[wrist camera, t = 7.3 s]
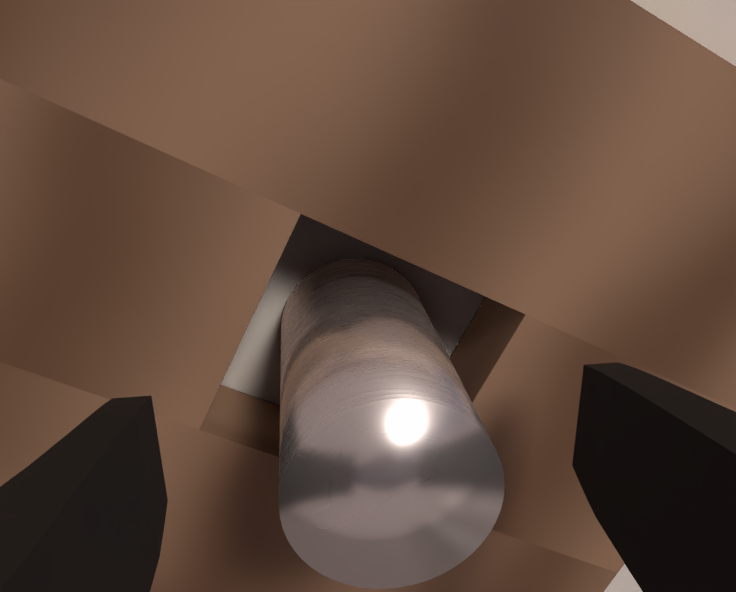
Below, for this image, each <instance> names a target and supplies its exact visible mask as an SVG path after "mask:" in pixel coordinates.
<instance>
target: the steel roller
mask: <svg viewBox="0 0 736 592" xmlns="http://www.w3.org/2000/svg"><path fill="white" fill-rule="evenodd" d="M504 488H505V483H504V472H503V468H502V464H501V461H500V458H499V456H498V453H497V451H496V449H495V447H494V445H493V443H492V441H491V439H490V437H489V435H488V433H487V431H486V429H485V427H484V425H483V423H482V421H481V419H480V417H479V415H478V413H477V411H476V410H475V408H474V406H473V404H472V402H471V400H470V398H469V396H468V394H467V392H466V390H465V388H464V386H463V384H462V382H461V380H460V378H459V376H458V374H457V372H456V370H455V368H454V366H453V364H452V362H451V360H450V358H449V356H448V354H447V352H446V350H445V348H444V346H443V344H442V342H441V340H440V338H439V336H438V334H437V332H436V331H435V329H434V327H433V325H432V323H431V321H430V319H429V317H428V315H427V313H426V311H425V309H424V307H423V305H422V303H421V301H420V299H419V297H418V295H417V293H416V292H415V290H414V288H413V287H412V285H411V284H410V283H409V282H408V281H407V280H406V279H405V278H404V277H403V276H402V275H401V274H400V273H398V272H397V271H395V270H394V269H392V268H390V267H388V266H386V265H384V264H382V263H379V262H376V261H371V260H367V259H345V260H339V261H335V262H332V263H328V264H326V265H324V266H322V267H319V268H318V269H316V270H314V271H313V272H311V273H310V274H309V275H307V276H306V277H305V278H303V279H302V281H301V282H300V283H299V284H298V285H297V286H296V287H295V288H294V290H293V291H292V293H291V294H290V296H289V298H288V300H287V302H286V305H285V307H284V310H283V315H282V321H281V371H280V452H279V513H280V520H281V524H282V528H283V531H284V533H285V535H286V538H287V540H288V541H289V543H290V545H291V546H292V548H293V550H294V551H295V552H296V553H297V554H298V555H299V557H300V558H301V559H302V560H303V561H304V562H305V563H307V564H308V565H309V566H310V567H311V568H313V569H314V570H316V571H317V572H319V573H320V574H322V575H324V576H326V577H328V578H330V579H332V580H335V581H338V582H341V583H343V584H347V585H351V586H356V587H361V588H371V589H389V588H399V587H405V586H410V585H414V584H418V583H421V582H424V581H427V580H430V579H432V578H435V577H437V576H439V575H441V574H443V573H445V572H447V571H449V570H451V569H452V568H454V567H455V566H457V565H458V564H460V563H461V562H463V561H464V560H465V559H466V558H468V557H469V556H470V555H471V554H472V553H473V552H474V551H475V550H476V549H477V548H478V547H479V546H480V545H481V544H482V543H483V541H484V540H485V539H486V537H487V536H488V535H489V533H490V532H491V530H492V528H493V526H494V525H495V523H496V521H497V518H498V516H499V513H500V511H501V507H502V503H503V499H504Z"/></svg>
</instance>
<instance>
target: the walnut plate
mask: <svg viewBox="0 0 736 592" xmlns="http://www.w3.org/2000/svg"><path fill="white" fill-rule="evenodd" d="M300 214H303V215H305V216H307V217H309V218H311V219H314V220H316V221H318V222H320V223H323V224H325V225H327V226H329V227H332V228H334V229H336V230H338V231H340V232H343V233H345V234H347V235H349V236H352V237H354V238H356V239H358V240H361V241H363V242H365V243H367V244H369V245H372V246H374V247H376V248H378V249H381V250H383V251H385V252H387V253H390V254H392V255H394V256H396V257H398V258H401V259H403V260H405V261H407V262H410V263H412V264H414V265H416V266H418V267H421V268H423V269H425V270H427V271H430V272H432V273H434V274H436V275H439V276H441V277H443V278H445V279H447V280H450V281H452V282H454V283H456V284H459V285H461V286H463V287H465V288H468V289H470V290H472V291H474V292H476V293H479V294H481V295H483V296H485V299H484V301H483V302H482V304H481V306H480V307H479V309H478V311H477V313H476V314H475V316H474V318H473V320H472V321H471V323H470V325H469V326H468V328H467V330H466V332H465V333H464V335H463V337H462V338H461V340H460V342H459V344H458V345H457V347H456V349H455V351H454V352H453V354H452V356H451V357H450V360H451V362H452V364H453V366H454V368H455V370H456V372H457V374H458V376H459V378H460V380H461V382H462V384H463V386H464V388H465V390H466V392H467V394H468V396H469V398H470V400H471V402H472V404H473V406H474V408H475V410H476V411H477V413H478V415H479V417H480V419H481V421H482V423H483V425H484V427H485V429H486V431H487V433H488V435H489V437H490V439H491V441H492V443H493V445H494V447H495V449H496V451H497V453H498V456H499V458H500V461H501V464H502V468H503V472H504V483H505V488H504V499H503V503H502V507H501V511H500V513H499V516H498V518H497V521H496V523H495V525H494V526H493V528H492V530H491V532H490V533H489V535H488V536H487V537H486V539H485V540H484V541H483V543H482V544H481V545H480V546H479V547H478V548H477V549H476V550H475V551H474V552H473V553H472V554H471V555H470V556H469V557H468V558H466V559H465V560H464V561H463V562H461V563H460V564H458V565H457V566H455V567H454V568H452V569H451V570H449V571H447V572H445V573H443V574H441V575H439V576H437V577H435V578H432V579H430V580H427V581H424V582H421V583H418V584H414V585H410V586H405V587H399V588H389V589H371V588H361V587H356V586H351V585H347V584H343V583H341V582H338V581H335V580H332V579H330V578H328V577H326V576H324V575H322V574H320V573H319V572H317V571H316V570H314V569H313V568H311V567H310V566H309V565H308V564H307V563H305V562H304V561H303V560H302V559H301V558H300V557H299V555H298V554H297V553H296V552H295V551H294V550H293V548H292V546H291V545H290V543H289V541H288V540H287V538H286V535H285V533H284V531H283V528H282V524H281V520H280V513H279V452H280V406H277V405H275V404H272V403H269V402H266V401H264V400H261V399H258V398H255V397H253V396H250V395H247V394H244V393H242V392H239V391H236V390H233V389H231V388H228V387H225V386H222V385H220V384H221V382H222V380H223V378H224V376H225V374H226V372H227V369H228V367H229V365H230V363H231V361H232V359H233V357H234V355H235V352H236V350H237V348H238V346H239V344H240V342H241V340H242V338H243V335H244V333H245V331H246V329H247V327H248V325H249V323H250V321H251V318H252V316H253V314H254V312H255V310H256V308H257V306H258V304H259V301H260V299H261V297H262V295H263V293H264V291H265V289H266V286H267V284H268V282H269V280H270V278H271V276H272V274H273V272H274V269H275V267H276V265H277V263H278V261H279V259H280V257H281V255H282V252H283V250H284V248H285V246H286V244H287V242H288V240H289V238H290V235H291V233H292V231H293V229H294V227H295V225H296V223H297V221H298V218H299V216H300ZM615 362H619V363H622V364H625V365H629V366H631V367H634V368H637V369H639V370H642V371H644V372H647V373H649V374H651V375H654V376H656V377H659V378H661V379H663V380H665V381H668V382H670V383H672V384H674V385H677V386H679V387H681V388H683V389H685V390H688V391H690V392H692V393H694V394H697V395H699V396H701V397H703V398H706V399H708V400H710V401H712V402H714V403H717V404H719V405H721V406H723V407H726V408H728V409H730V410H733V411H735V412H736V67H735V66H734V65H732V64H731V63H729V62H728V61H726V60H724V59H723V58H721V57H720V56H718V55H716V54H715V53H713V52H712V51H710V50H708V49H707V48H705V47H704V46H702V45H700V44H699V43H697V42H696V41H694V40H692V39H691V38H689V37H688V36H686V35H685V34H683V33H681V32H680V31H678V30H677V29H675V28H673V27H672V26H670V25H669V24H667V23H665V22H664V21H662V20H661V19H659V18H657V17H656V16H654V15H653V14H651V13H649V12H648V11H646V10H645V9H643V8H642V7H640V6H638V5H637V4H635V3H634V2H632V1H630V0H0V486H2V485H3V484H4V483H6V482H7V481H9V480H10V479H11V478H13V477H14V476H15V475H17V474H18V473H19V472H21V471H22V470H23V469H25V468H26V467H27V466H29V465H30V464H31V463H32V462H34V461H35V460H36V459H37V458H39V457H40V456H41V455H42V454H44V453H45V452H46V451H47V450H48V449H50V448H51V447H52V446H53V445H55V444H56V443H57V442H58V441H60V440H61V439H62V438H63V437H64V436H66V435H67V434H68V433H69V432H71V431H72V430H73V429H74V428H75V427H77V426H78V425H79V424H80V423H81V422H83V421H84V420H85V419H86V418H87V417H89V416H90V415H91V414H92V413H93V412H95V411H96V410H97V409H98V408H100V407H101V406H102V405H104V404H105V403H106V402H108V401H109V400H111V399H112V398H124V397H138V396H152V402H153V409H154V415H155V422H156V428H157V434H158V441H159V447H160V454H161V460H162V466H163V473H164V479H165V486H166V492H167V499H168V503H167V510H166V517H165V525H164V532H163V538H162V545H161V551H160V557H159V561H158V565H157V568H156V572H155V576H154V579H153V583H152V586H151V590H150V592H604V590H605V589H606V588H607V586H608V585H609V584H610V582H611V581H612V580H613V578H614V577H615V576H616V574H617V573H618V572H619V570H620V569H621V568H622V566H623V565H624V564H625V563H624V561H623V560H622V558H621V557H620V555H619V554H618V552H617V550H616V549H615V547H614V546H613V544H612V542H611V541H610V539H609V538H608V536H607V535H606V533H605V531H604V530H603V528H602V527H601V525H600V523H599V522H598V520H597V518H596V517H595V515H594V513H593V511H592V509H591V506H590V504H589V502H588V500H587V498H586V496H585V494H584V492H583V489H582V487H581V485H580V482H579V480H578V478H577V475H576V473H575V471H574V468H573V466H572V462H573V454H574V445H575V436H576V428H577V419H578V410H579V401H580V393H581V384H582V375H583V367H584V365H586V364H601V363H615Z"/></svg>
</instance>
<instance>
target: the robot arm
mask: <svg viewBox="0 0 736 592" xmlns="http://www.w3.org/2000/svg"><path fill="white" fill-rule="evenodd" d="M572 466H573V468H574V471H575V473H576V475H577V478H578V480H579V482H580V485H581V487H582V489H583V492H584V494H585V496H586V498H587V500H588V502H589V504H590V506H591V509H592V511H593V513H594V515H595V517H596V518H597V520H598V522H599V523H600V525H601V527H602V528H603V530H604V531H605V533H606V535H607V536H608V538H609V539H610V541H611V542H612V544H613V546H614V547H615V549H616V550H617V552H618V554H619V555H620V557H621V558H622V560H623V561H624V563H625V565H626V566H627V568H628V569H629V571H630V572H631V574H632V575H633V577H634V579H635V580H636V582H637V583H638V585H639V586H640V588H641V589H642V591H643V592H736V412H735V411H733V410H730V409H728V408H726V407H723V406H721V405H719V404H717V403H714V402H712V401H710V400H708V399H706V398H703V397H701V396H699V395H697V394H694V393H692V392H690V391H688V390H685V389H683V388H681V387H679V386H677V385H674V384H672V383H670V382H668V381H665V380H663V379H661V378H659V377H656V376H654V375H651V374H649V373H647V372H644V371H642V370H639V369H637V368H634V367H631V366H629V365H625V364H622V363H619V362H615V363H601V364H586V365H584V367H583V375H582V384H581V393H580V401H579V410H578V419H577V428H576V436H575V445H574V454H573V462H572ZM167 503H168V499H167V492H166V486H165V479H164V473H163V466H162V460H161V454H160V447H159V441H158V434H157V428H156V422H155V415H154V409H153V402H152V396H138V397H124V398H112V399H111V400H109V401H108V402H106V403H105V404H104V405H102V406H101V407H100V408H98V409H97V410H96V411H95V412H93V413H92V414H91V415H90V416H89V417H87V418H86V419H85V420H84V421H83V422H81V423H80V424H79V425H78V426H77V427H75V428H74V429H73V430H72V431H71V432H69V433H68V434H67V435H66V436H64V437H63V438H62V439H61V440H60V441H58V442H57V443H56V444H55V445H53V446H52V447H51V448H50V449H48V450H47V451H46V452H45V453H44V454H42V455H41V456H40V457H39V458H37V459H36V460H35V461H34V462H32V463H31V464H30V465H29V466H27V467H26V468H25V469H23V470H22V471H21V472H19V473H18V474H17V475H15V476H14V477H13V478H11V479H10V480H9V481H7V482H6V483H4V484H3V485H2V486H0V592H150V590H151V586H152V583H153V579H154V576H155V572H156V568H157V565H158V561H159V557H160V551H161V545H162V538H163V532H164V525H165V517H166V510H167Z"/></svg>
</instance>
